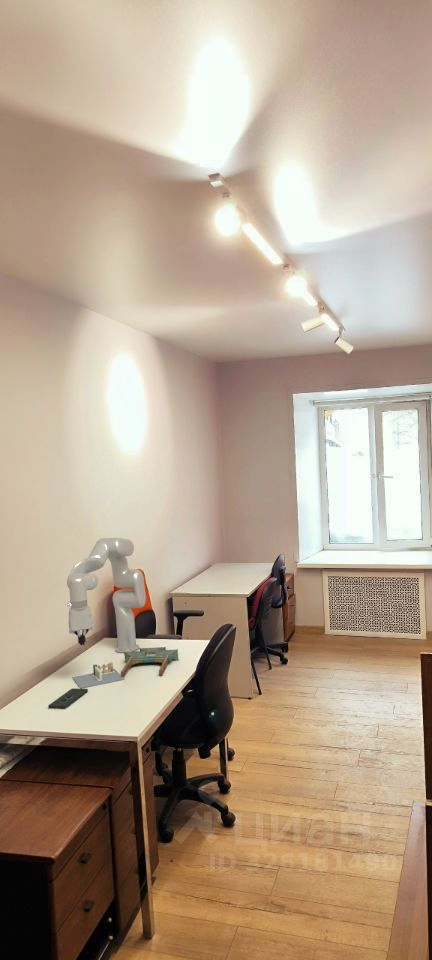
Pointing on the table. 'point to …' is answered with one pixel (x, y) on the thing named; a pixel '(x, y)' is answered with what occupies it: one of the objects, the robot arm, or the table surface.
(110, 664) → the fixed fence section
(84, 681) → the card
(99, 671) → the folding fence panel
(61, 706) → the smart home device
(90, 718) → the table surface
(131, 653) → the miniature gate
